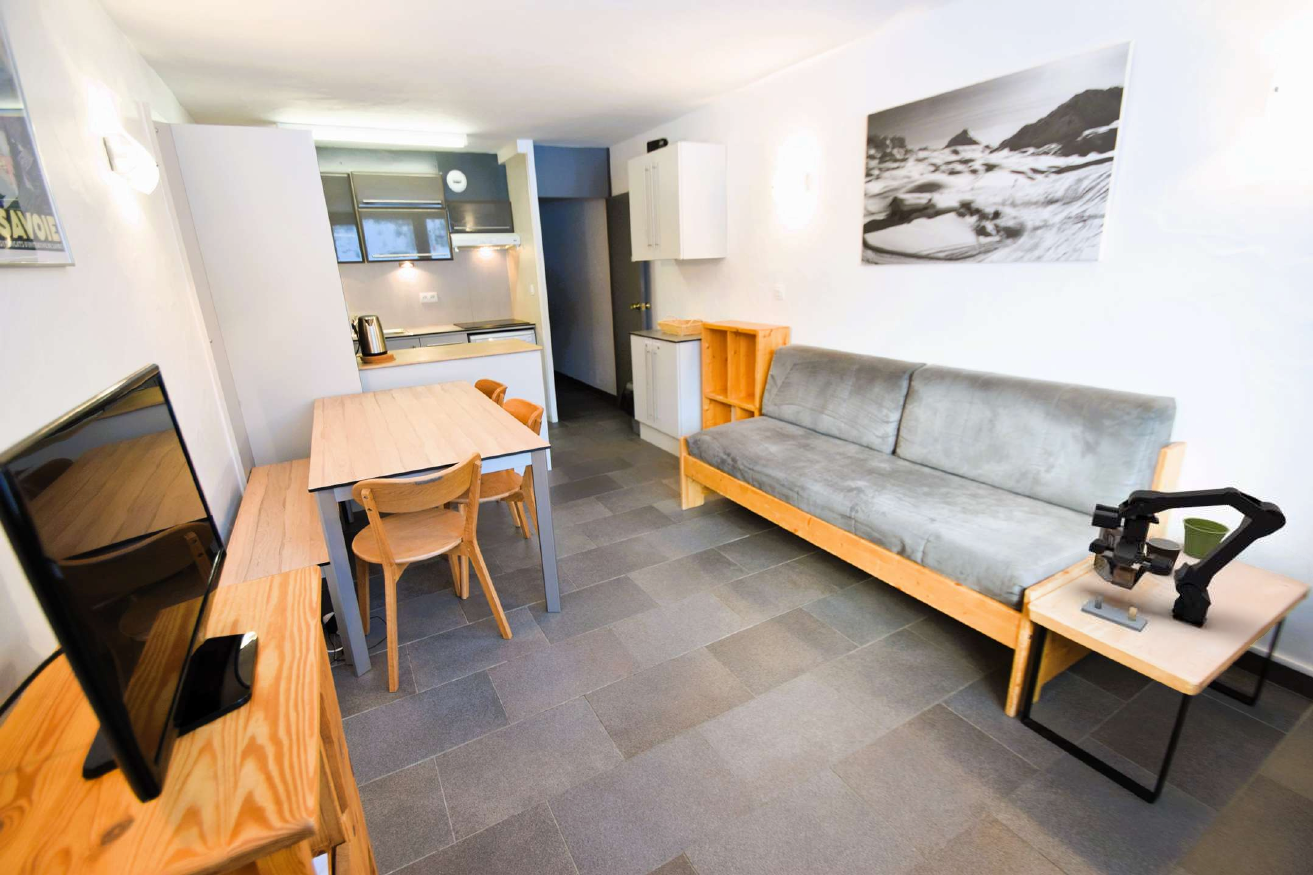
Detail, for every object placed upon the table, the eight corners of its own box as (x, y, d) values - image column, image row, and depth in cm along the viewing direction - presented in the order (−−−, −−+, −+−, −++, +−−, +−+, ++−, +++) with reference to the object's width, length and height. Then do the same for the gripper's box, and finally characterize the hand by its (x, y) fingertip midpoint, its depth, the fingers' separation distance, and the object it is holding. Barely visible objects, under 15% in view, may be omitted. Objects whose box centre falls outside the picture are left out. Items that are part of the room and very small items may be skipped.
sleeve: (1135, 584, 173) (1139, 569, 172) (1130, 590, 170) (1134, 575, 169) (1116, 578, 177) (1119, 563, 175) (1110, 583, 174) (1114, 568, 173)
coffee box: (1129, 583, 185) (1139, 537, 180) (1106, 581, 186) (1115, 535, 182) (1113, 568, 194) (1122, 524, 189) (1091, 567, 195) (1100, 523, 190)
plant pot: (1190, 562, 196) (1198, 531, 192) (1167, 546, 207) (1174, 516, 203) (1231, 564, 194) (1239, 533, 190) (1205, 547, 205) (1212, 518, 201)
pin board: (1147, 622, 165) (1150, 608, 164) (1140, 632, 161) (1143, 618, 160) (1089, 601, 176) (1091, 588, 175) (1081, 610, 172) (1083, 597, 171)
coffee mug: (1182, 577, 187) (1189, 549, 184) (1155, 578, 187) (1161, 550, 184) (1153, 559, 198) (1159, 533, 195) (1127, 560, 198) (1133, 533, 195)
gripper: (1086, 531, 171) (1077, 578, 176) (1168, 553, 157) (1156, 604, 162) (1099, 520, 178) (1090, 565, 182) (1179, 540, 164) (1167, 589, 168)
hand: (1124, 580), depth 173 cm, fingers closed on sleeve, 5 cm apart
